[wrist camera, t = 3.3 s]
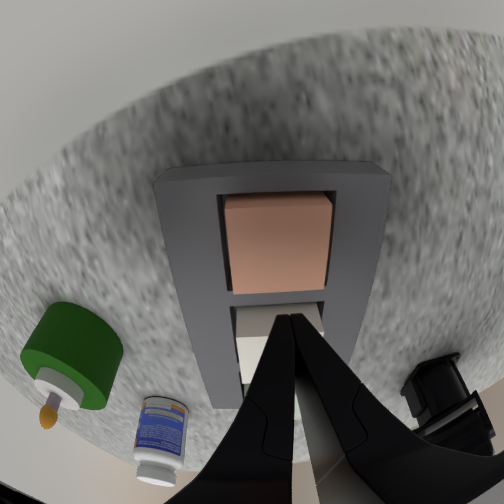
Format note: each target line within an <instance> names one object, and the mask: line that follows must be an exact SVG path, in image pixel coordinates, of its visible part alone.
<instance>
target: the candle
mask: <svg viewBox="0 0 504 504" xmlns="http://www.w3.org/2000/svg"><path fill="white" fill-rule="evenodd" d="M122 355H123V346H122V343H121V341H120V339H119V337H118V336H117V334H116V333H115V332H114V330H113V329H112V328H111V327H110V326H109V325H108V324H107V323H106V322H105V321H104V320H103V319H101V318H100V317H98V316H97V315H96V314H94V313H93V312H91V311H89V310H88V309H86V308H83V307H81V306H79V305H76V304H73V303H68V302H57V303H54V304H52V305H51V306H50V307H49V308H48V309H47V311H46V312H45V314H44V315H43V317H42V318H41V320H40V322H39V323H38V325H37V326H36V328H35V330H34V331H33V333H32V334H31V336H30V338H29V340H28V341H27V343H26V345H25V346H24V348H23V350H22V352H21V354H20V359H21V362H22V364H23V366H24V368H25V369H26V371H27V372H28V373H29V375H30V376H31V377H32V378H33V379H34V384H35V386H36V388H37V389H38V390H39V391H40V392H41V393H42V394H43V395H44V396H45V397H47V398H48V399H47V401H46V404H45V406H43V407H42V408H41V410H40V416H39V417H40V424H41V426H42V427H43V428H44V429H50V428H51V427H53V426H54V424H55V423H56V421H57V418H58V415H57V411H58V408H59V406H62V407H64V408H67V409H70V410H78V409H79V408H84V409H89V410H101V409H103V408H105V406H106V404H107V401H108V398H109V395H110V391H111V388H112V385H113V382H114V379H115V376H116V373H117V370H118V367H119V364H120V361H121V358H122Z"/></svg>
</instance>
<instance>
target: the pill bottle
mask: <svg viewBox="0 0 504 504" xmlns="http://www.w3.org/2000/svg"><path fill="white" fill-rule="evenodd" d="M187 422H188V410H187V409H186V407H185V406H183V405H182V404H180V403H178V402H176V401H173V400H170V399H166V398H160V397H151V398H147V399H146V400H144V402H143V405H142V409H141V414H140V418H139V423H138V428H137V433H136V439H135V444H134V450H133V456H134V458H135V459H136V460H137V461H138V462H140V466H138V469H137V476H136V477H137V478H138V479H139V480H141V481H144V482H147V483H151V484H155V485H161V486H175V483H176V474H174V470H178V469H180V468H181V467H182V466H183V464H184V453H185V441H186V431H187Z"/></svg>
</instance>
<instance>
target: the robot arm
mask: <svg viewBox="0 0 504 504" xmlns="http://www.w3.org/2000/svg"><path fill="white" fill-rule="evenodd" d="M460 356H461V355H460V354H459V353H456V354H453V355H449V356H446V357H443V358H439V359H436V360H432V361H429V362H425V363H422V364H420V365H418V366H417V368H416V369H415V371H414V373H413V374H412V376H411V377H410V379H409V381H408V382H407V384H406V385H405V387H404V388H403V390H402V391H401V393H400V394H401V396H405V397H406V400H407V403H408V406H409V408H410V411H411V414H412V417H413V418H417V421H418V424H419V428H417V429H414V430H412V431H411V430H410V429H409V428H408V427H407V426H406V425H405V424H403V423H402V422H401V421H400V420H399V419H398V418H397V417H395V416H394V415H393V414H392V413H391V412H390V411H389V410H388V409H387V408H386V407H385V406H383V405H382V404H381V403H380V402H379V401H378V400H377V398H376V397H375V396H374V395H373V394H372V393H371V392H370V391H369V390H368V389H367V387H366V386H365V385H364V384H363V383H361V381H360V379H359V378H358V377H357V376H356V375H355V374H354V372H353V371H352V370H351V369H350V368H349V367H348V365H347V364H346V363H345V362H344V361H343V360H342V358H341V357H340V356H339V355H338V354H337V353H336V352H335V350H334V349H333V348H332V347H331V346H330V345H329V343H328V342H327V341H326V340H325V339H324V338H323V336H322V335H321V334H320V333H319V332H318V331H317V329H316V328H315V327H314V326H313V325H312V324H311V322H310V321H309V320H308V319H307V318H306V317H305V316H304V314H303V313H291V314H290V315H289V314H278V315H276V317H275V320H274V323H273V325H272V328H271V331H270V333H269V336H268V339H267V341H266V344H265V347H264V349H263V352H262V355H261V357H260V360H259V362H258V365H257V367H256V370H255V372H254V375H253V378H252V380H251V383H250V385H249V388H248V390H247V392H246V395H245V397H244V399H243V402H242V404H241V406H240V409H239V411H238V413H237V415H236V417H235V419H234V421H233V423H232V425H231V426H230V428H229V430H228V432H227V433H226V435H225V436H224V438H223V440H222V441H221V443H220V444H219V446H218V447H217V449H216V450H215V452H214V453H213V455H212V456H211V458H210V459H209V461H208V462H207V464H206V465H205V467H204V468H203V469H202V470H201V472H200V473H199V474H198V475H197V476H196V477H195V478H194V479H193V480H192V482H190V483H189V484H188V485H186V486H185V487H184V488H183V489H182V490H180V491H179V492H178V493H177V494H175V495H174V496H173V497H171V498H170V499H169V500H168V501H167V502H165V503H164V504H292V460H293V441H294V414H295V391H296V396H297V400H298V405H299V409H300V414H301V418H302V423H303V427H304V432H305V436H306V441H307V445H308V450H309V455H310V459H311V464H312V469H313V473H314V478H315V482H316V485H317V486H316V488H317V492H318V497H319V502H320V504H504V450H503V451H502V452H500V453H499V454H497V455H494V453H495V452H494V448H493V445H492V443H491V440H490V439H491V438H493V437H494V436H496V435H495V431H494V429H493V426H492V424H491V421H490V419H489V417H488V414H487V412H486V410H485V408H484V405H483V403H482V401H481V399H480V397H479V395H478V393H477V391H476V390H475V391H474V392H472V394H471V395H470V393H469V391H468V389H467V387H466V384H465V382H464V380H463V378H462V376H461V374H460V372H459V370H458V369H457V367H456V365H455V364H456V362H457V361H458V359H459V358H460ZM477 404H478V406H479V407H478V408H476V409H474V410H473V409H472V408H473V407H474V406H476V405H477ZM0 504H46V503H44V502H42V501H40V500H38V499H36V498H34V497H32V496H29V495H27V494H25V493H23V492H21V491H19V490H16V489H15V488H13V487H11V486H9V485H7V484H5V483H3V482H1V481H0Z"/></svg>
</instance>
